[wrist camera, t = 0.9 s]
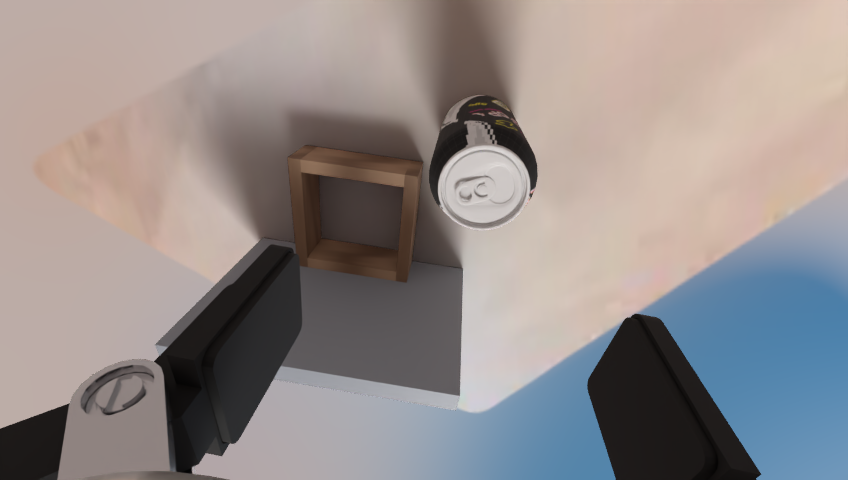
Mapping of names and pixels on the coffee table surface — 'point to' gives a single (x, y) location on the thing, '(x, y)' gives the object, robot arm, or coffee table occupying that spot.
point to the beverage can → (482, 165)
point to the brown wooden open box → (343, 254)
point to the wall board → (368, 331)
